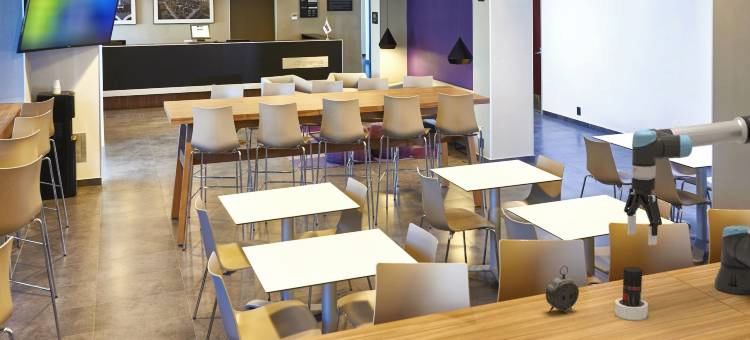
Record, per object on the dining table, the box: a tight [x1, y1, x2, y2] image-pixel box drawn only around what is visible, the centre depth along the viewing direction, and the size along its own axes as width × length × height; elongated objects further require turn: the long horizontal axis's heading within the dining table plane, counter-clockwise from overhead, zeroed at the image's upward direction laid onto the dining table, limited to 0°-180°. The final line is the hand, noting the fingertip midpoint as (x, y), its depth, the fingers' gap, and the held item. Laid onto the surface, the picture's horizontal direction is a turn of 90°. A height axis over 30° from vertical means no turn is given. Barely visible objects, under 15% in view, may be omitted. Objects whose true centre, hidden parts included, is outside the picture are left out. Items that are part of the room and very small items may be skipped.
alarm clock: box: [545, 265, 580, 315], centre depth 296 cm, size 11×5×16 cm, turn 112°
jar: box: [614, 297, 649, 321], centre depth 293 cm, size 10×10×4 cm
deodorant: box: [622, 266, 643, 307], centre depth 292 cm, size 6×6×15 cm
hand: (641, 239), depth 295 cm, fingers open, 13 cm apart
